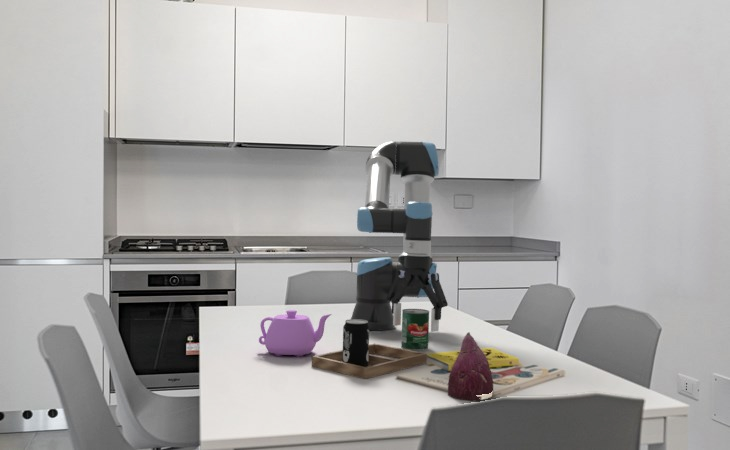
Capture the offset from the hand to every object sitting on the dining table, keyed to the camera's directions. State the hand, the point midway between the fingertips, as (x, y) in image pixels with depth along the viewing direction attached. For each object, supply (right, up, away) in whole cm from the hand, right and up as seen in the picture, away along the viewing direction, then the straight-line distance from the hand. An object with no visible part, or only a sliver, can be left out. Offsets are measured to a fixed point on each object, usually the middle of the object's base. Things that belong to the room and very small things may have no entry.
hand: (415, 328), depth 207 cm
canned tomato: (0, -6, +1) cm, 6 cm away
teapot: (-34, -5, -11) cm, 36 cm away
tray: (-13, -6, -22) cm, 27 cm away
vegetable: (+9, -8, -49) cm, 50 cm away
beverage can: (-17, -6, -27) cm, 33 cm away
